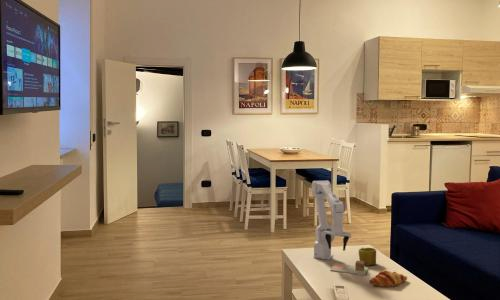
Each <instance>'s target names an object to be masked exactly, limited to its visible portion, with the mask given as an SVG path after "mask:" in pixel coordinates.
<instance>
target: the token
mask: <svg viewBox="0 0 500 300" xmlns="http://www.w3.org/2000/svg"><path fill="white" fill-rule="evenodd" d="M354 266H355V270H357V271H364V267H365V265H364V261H360V260H356V262H355V264H354Z"/></svg>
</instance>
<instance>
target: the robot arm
mask: <svg viewBox="0 0 500 300" xmlns="http://www.w3.org/2000/svg"><path fill="white" fill-rule="evenodd" d="M331 187H332V184H331V182H330V181H329V180H313V181H312V182H311V187H310V188H311V193H312V196H313V197H314V198H315V204H316V212H317V218H318V225H317V226H316V228H315V230H314V231H315V233H314V235H315V241H314V244H313V258H314V259H319V260H320V259H322V260H328V261H329V260H331V259H332V258H333V256H334V255H333V254H332V243H333V241H334V240H335V237H339V238H340V237H342V243H343V246H342V247H343V249H342V251H343V252H344V251H346V246H347V245H348V241H349V239H351V238H352V233H350V232H344V213H345V212H346V203H345V202H344V201H341V200H340V199H339V197H338V196H337V194H336V193H333V191H332V189H331ZM325 197H326V201H327V203H328V204H329V206H330V207H329V208H330V214H331V225H329V223H328V216H327V210H326V202H325Z"/></svg>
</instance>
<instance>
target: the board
mask: <svg viewBox="0 0 500 300" xmlns="http://www.w3.org/2000/svg"><path fill="white" fill-rule="evenodd" d="M368 270H369V266H368V267H367V266H364V271H357V270H355V265H351V264H345V263H344V264H343V263H337V262H334V263H333V265H332V267H331V268H330V272H337V273H345V274H351V275H359V276H366V275H367V272H368Z"/></svg>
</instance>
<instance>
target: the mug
mask: <svg viewBox="0 0 500 300" xmlns="http://www.w3.org/2000/svg"><path fill="white" fill-rule="evenodd" d="M358 258H359V261H364V266H373V265H376V263H377V249H376V248H374V247H364V246H363V247H361V248H359V249H358Z"/></svg>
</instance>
